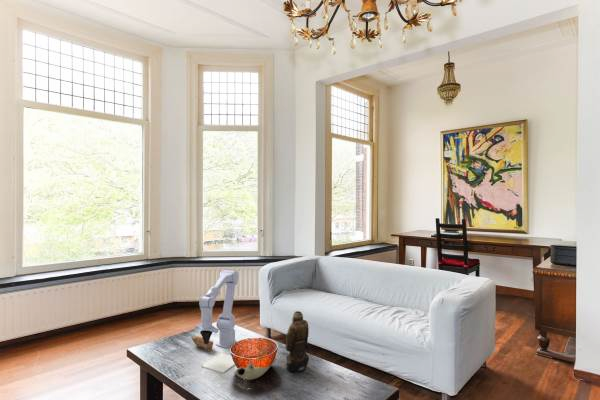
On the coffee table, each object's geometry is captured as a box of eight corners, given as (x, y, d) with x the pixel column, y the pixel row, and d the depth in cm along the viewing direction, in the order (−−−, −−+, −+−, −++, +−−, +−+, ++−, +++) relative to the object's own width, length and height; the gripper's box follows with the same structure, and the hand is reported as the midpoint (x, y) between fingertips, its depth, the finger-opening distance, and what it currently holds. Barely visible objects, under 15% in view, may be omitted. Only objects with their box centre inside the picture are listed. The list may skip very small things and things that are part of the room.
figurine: (213, 351, 197) (196, 353, 205) (216, 336, 202) (200, 339, 210) (201, 347, 192) (185, 349, 200) (205, 332, 197) (189, 335, 205)
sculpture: (299, 362, 188) (297, 306, 189) (313, 370, 178) (311, 310, 179) (279, 368, 180) (278, 310, 182) (293, 377, 170) (291, 315, 172)
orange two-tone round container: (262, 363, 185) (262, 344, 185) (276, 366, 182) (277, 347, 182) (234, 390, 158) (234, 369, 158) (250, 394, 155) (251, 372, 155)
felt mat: (221, 354, 194) (221, 353, 194) (241, 359, 188) (241, 358, 188) (201, 366, 180) (201, 365, 180) (222, 373, 173) (222, 372, 173)
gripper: (191, 318, 186) (191, 343, 187) (212, 323, 180) (211, 349, 180) (200, 314, 193) (200, 338, 193) (221, 319, 186) (220, 344, 187)
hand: (206, 343), depth 187 cm, fingers closed
